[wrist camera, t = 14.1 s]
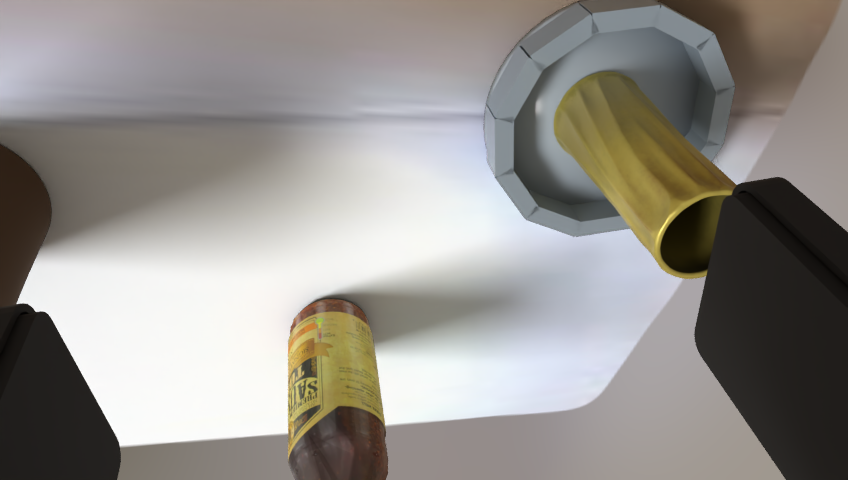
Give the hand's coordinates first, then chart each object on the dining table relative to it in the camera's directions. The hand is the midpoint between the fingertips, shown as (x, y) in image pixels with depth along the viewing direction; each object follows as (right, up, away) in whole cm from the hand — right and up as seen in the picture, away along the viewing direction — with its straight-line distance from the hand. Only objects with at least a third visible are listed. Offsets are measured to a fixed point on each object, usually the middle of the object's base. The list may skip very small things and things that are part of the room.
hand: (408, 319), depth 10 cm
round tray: (+12, +10, +36) cm, 39 cm away
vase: (+11, +9, +35) cm, 38 cm away
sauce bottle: (-7, -5, +43) cm, 44 cm away
